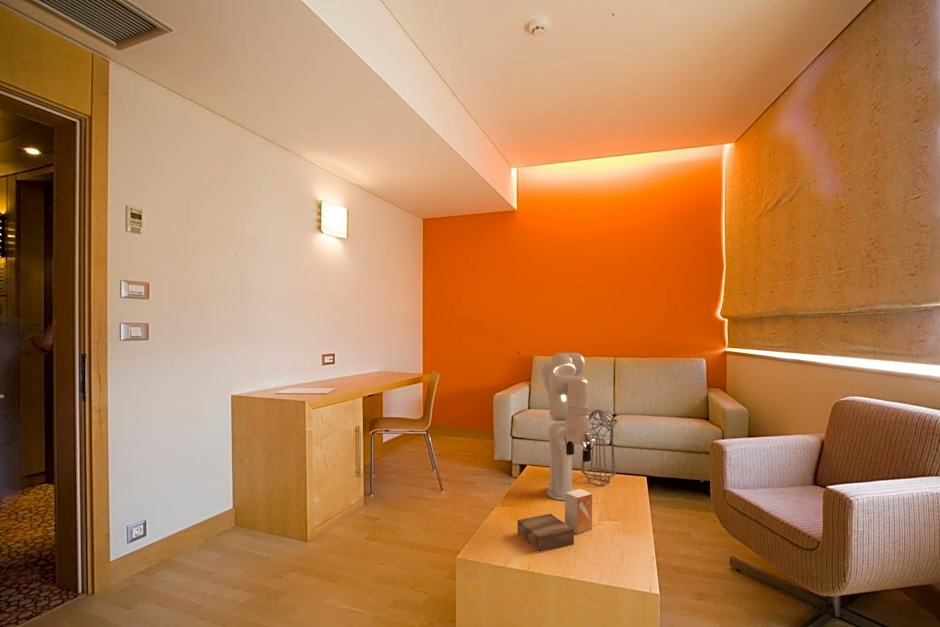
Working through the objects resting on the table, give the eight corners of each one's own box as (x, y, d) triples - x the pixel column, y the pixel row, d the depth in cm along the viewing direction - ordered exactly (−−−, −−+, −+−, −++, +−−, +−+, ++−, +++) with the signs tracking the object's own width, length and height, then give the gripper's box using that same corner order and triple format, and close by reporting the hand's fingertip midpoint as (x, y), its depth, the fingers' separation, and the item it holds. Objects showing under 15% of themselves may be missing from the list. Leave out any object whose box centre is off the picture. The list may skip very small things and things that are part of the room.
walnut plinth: (517, 534, 154) (517, 520, 155) (550, 527, 160) (550, 513, 160) (539, 552, 141) (539, 536, 142) (573, 544, 147) (573, 529, 147)
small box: (577, 534, 154) (577, 497, 155) (564, 528, 159) (564, 492, 160) (592, 529, 159) (592, 493, 159) (579, 523, 164) (579, 488, 165)
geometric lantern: (576, 482, 210) (575, 409, 213) (592, 475, 221) (591, 406, 224) (606, 490, 199) (605, 413, 201) (621, 482, 210) (620, 409, 213)
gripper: (555, 408, 168) (556, 453, 167) (584, 415, 152) (585, 465, 151) (571, 407, 171) (572, 451, 170) (601, 414, 155) (602, 463, 154)
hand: (578, 457), depth 160 cm, fingers open, 9 cm apart
